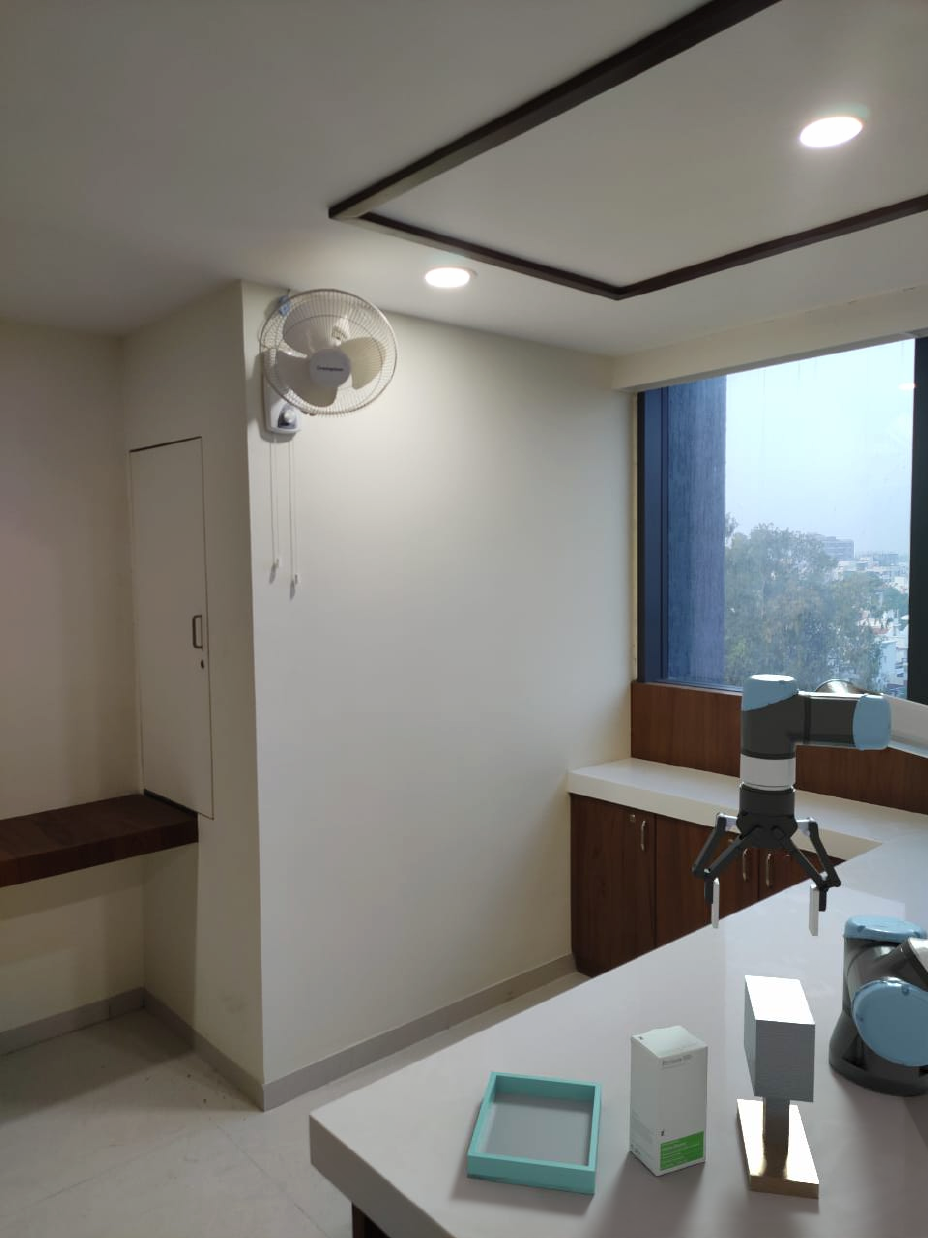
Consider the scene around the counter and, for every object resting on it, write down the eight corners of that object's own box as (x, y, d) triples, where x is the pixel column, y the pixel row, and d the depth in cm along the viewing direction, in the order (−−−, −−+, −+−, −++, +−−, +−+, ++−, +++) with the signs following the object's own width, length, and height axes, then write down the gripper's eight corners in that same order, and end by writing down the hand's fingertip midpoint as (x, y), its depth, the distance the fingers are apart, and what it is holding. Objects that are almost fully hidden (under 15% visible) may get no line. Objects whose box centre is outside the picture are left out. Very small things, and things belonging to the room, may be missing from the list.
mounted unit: (796, 1119, 126) (799, 973, 124) (818, 1199, 110) (822, 1033, 109) (737, 1113, 127) (739, 968, 126) (750, 1190, 112) (753, 1027, 110)
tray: (601, 1103, 129) (601, 1083, 129) (594, 1195, 111) (594, 1171, 111) (491, 1091, 133) (491, 1071, 132) (467, 1178, 114) (467, 1155, 114)
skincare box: (655, 1179, 114) (657, 1060, 113) (625, 1148, 120) (627, 1035, 119) (708, 1161, 117) (710, 1045, 116) (677, 1131, 123) (678, 1021, 122)
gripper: (854, 781, 130) (849, 925, 131) (676, 773, 135) (674, 911, 136) (866, 795, 122) (861, 946, 124) (678, 786, 127) (676, 932, 129)
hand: (763, 928), depth 130 cm, fingers open, 13 cm apart
